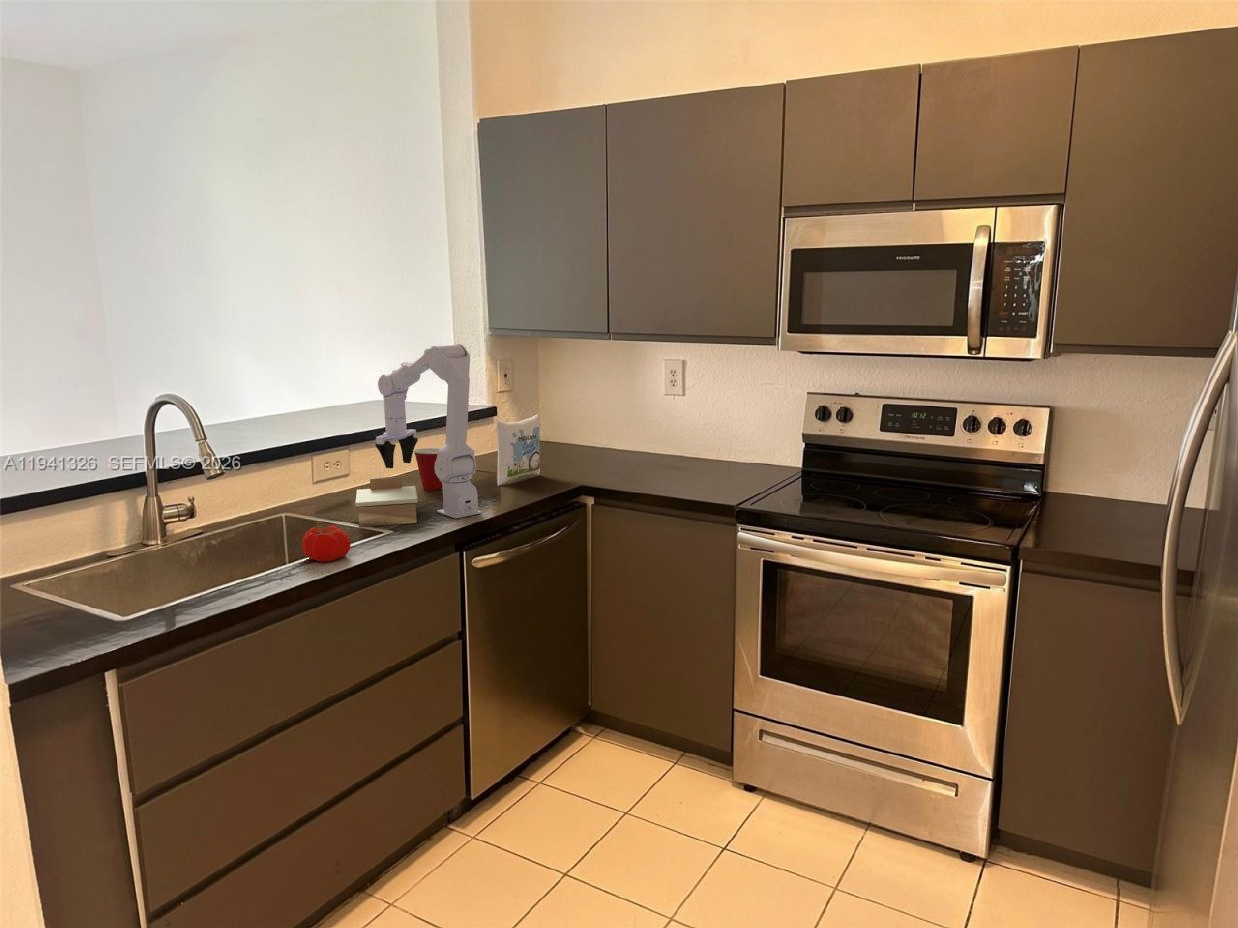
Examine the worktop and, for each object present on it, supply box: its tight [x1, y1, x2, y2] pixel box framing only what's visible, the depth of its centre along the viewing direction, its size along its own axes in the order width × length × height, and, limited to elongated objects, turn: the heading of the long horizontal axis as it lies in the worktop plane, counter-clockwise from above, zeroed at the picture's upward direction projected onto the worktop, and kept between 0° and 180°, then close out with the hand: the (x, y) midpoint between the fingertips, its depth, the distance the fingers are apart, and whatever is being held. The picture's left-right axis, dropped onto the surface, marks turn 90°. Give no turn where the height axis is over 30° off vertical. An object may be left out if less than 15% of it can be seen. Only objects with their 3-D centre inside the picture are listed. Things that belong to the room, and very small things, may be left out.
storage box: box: [357, 503, 418, 528], centre depth 223 cm, size 14×14×5 cm
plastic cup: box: [413, 447, 443, 492], centre depth 255 cm, size 11×11×12 cm
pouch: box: [496, 413, 541, 487], centre depth 264 cm, size 8×19×20 cm, turn 141°
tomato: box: [301, 525, 352, 563], centre depth 190 cm, size 10×11×6 cm
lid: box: [355, 475, 418, 508], centre depth 222 cm, size 15×15×4 cm
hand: (398, 465), depth 242 cm, fingers open, 7 cm apart
